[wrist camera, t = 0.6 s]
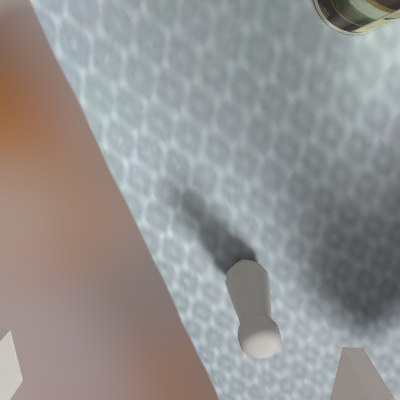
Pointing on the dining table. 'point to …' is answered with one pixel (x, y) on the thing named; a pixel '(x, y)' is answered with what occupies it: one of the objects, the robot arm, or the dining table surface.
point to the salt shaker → (253, 308)
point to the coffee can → (358, 14)
